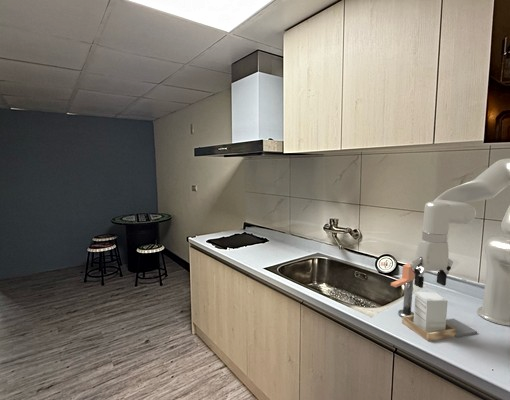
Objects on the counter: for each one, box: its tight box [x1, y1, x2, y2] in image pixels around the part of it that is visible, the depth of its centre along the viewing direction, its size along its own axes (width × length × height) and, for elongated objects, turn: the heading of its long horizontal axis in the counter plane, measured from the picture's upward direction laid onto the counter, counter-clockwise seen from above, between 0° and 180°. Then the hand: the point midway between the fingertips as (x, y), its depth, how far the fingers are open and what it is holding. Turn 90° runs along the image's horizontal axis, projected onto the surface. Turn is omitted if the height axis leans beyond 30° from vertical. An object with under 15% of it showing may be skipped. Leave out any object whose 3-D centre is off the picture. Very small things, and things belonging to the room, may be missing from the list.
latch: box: [390, 262, 415, 288], centre depth 109 cm, size 2×14×6 cm, turn 124°
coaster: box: [446, 318, 478, 338], centre depth 104 cm, size 9×9×1 cm
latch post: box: [397, 280, 414, 318], centre depth 112 cm, size 6×6×14 cm
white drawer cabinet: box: [413, 291, 449, 333], centre depth 103 cm, size 7×7×13 cm
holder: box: [401, 315, 456, 342], centre depth 103 cm, size 12×12×2 cm
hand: (429, 285), depth 101 cm, fingers open, 9 cm apart
